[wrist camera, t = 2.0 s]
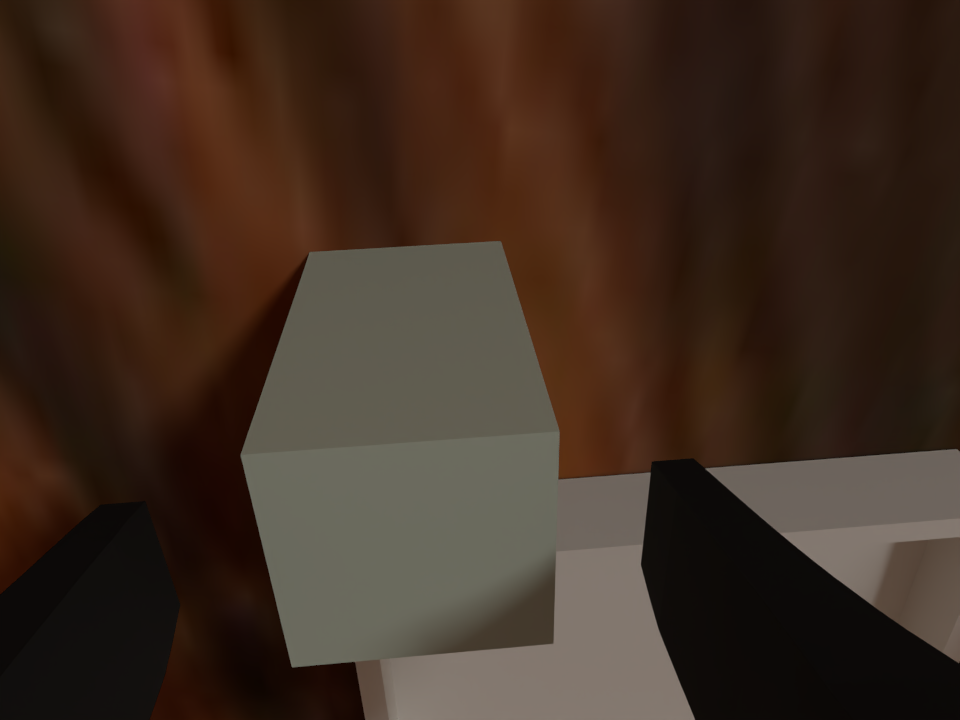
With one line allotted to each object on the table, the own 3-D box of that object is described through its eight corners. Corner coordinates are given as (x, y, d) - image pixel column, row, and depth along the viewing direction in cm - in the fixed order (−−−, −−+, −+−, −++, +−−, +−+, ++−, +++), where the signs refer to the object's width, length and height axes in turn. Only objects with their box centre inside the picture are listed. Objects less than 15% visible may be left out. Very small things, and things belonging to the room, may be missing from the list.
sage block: (500, 240, 15) (559, 431, 9) (503, 400, 17) (553, 644, 11) (309, 252, 15) (240, 455, 9) (334, 412, 17) (291, 667, 11)
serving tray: (956, 449, 19) (1026, 512, 17) (848, 746, 26) (888, 820, 23) (347, 495, 18) (338, 569, 16) (394, 791, 25) (392, 871, 22)
